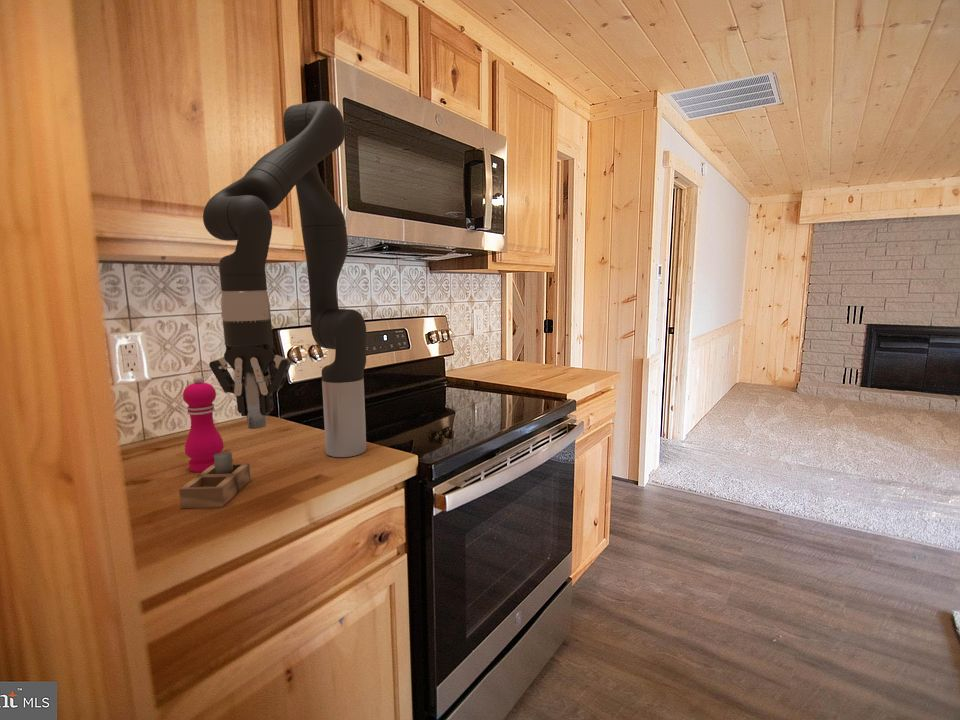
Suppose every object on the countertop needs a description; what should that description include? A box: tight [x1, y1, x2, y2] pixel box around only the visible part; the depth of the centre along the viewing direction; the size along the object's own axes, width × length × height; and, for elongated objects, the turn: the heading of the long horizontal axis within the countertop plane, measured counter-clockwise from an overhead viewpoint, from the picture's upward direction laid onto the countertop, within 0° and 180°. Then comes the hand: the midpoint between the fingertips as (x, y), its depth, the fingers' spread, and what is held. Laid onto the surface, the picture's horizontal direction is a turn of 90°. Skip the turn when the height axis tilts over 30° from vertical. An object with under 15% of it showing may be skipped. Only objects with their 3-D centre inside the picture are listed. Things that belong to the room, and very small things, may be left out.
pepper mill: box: [182, 374, 225, 473], centre depth 102 cm, size 7×7×20 cm
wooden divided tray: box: [178, 451, 252, 509], centre depth 89 cm, size 12×7×6 cm, turn 3°
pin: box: [243, 372, 267, 430], centre depth 85 cm, size 3×3×10 cm
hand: (256, 414), depth 85 cm, fingers closed on pin, 3 cm apart
